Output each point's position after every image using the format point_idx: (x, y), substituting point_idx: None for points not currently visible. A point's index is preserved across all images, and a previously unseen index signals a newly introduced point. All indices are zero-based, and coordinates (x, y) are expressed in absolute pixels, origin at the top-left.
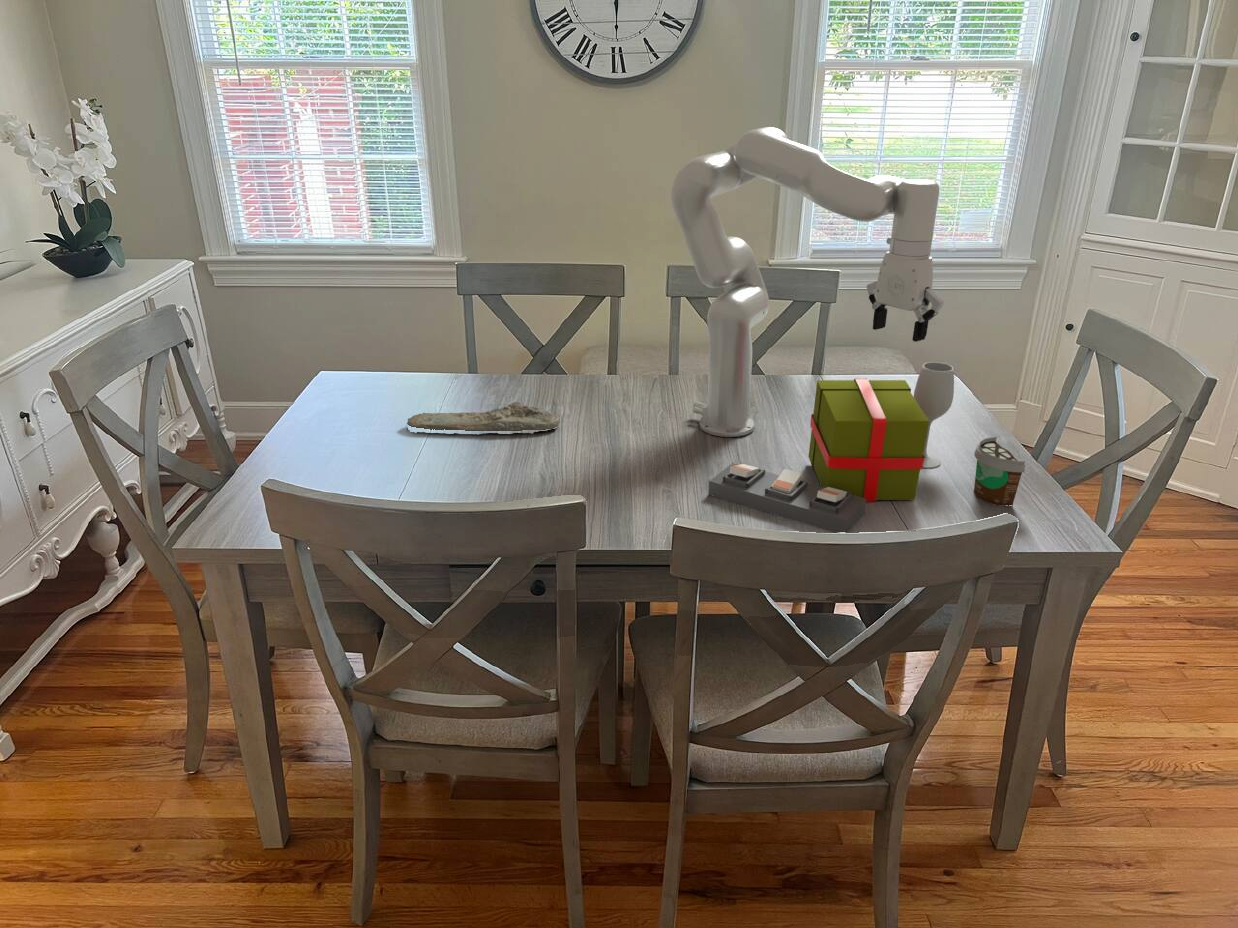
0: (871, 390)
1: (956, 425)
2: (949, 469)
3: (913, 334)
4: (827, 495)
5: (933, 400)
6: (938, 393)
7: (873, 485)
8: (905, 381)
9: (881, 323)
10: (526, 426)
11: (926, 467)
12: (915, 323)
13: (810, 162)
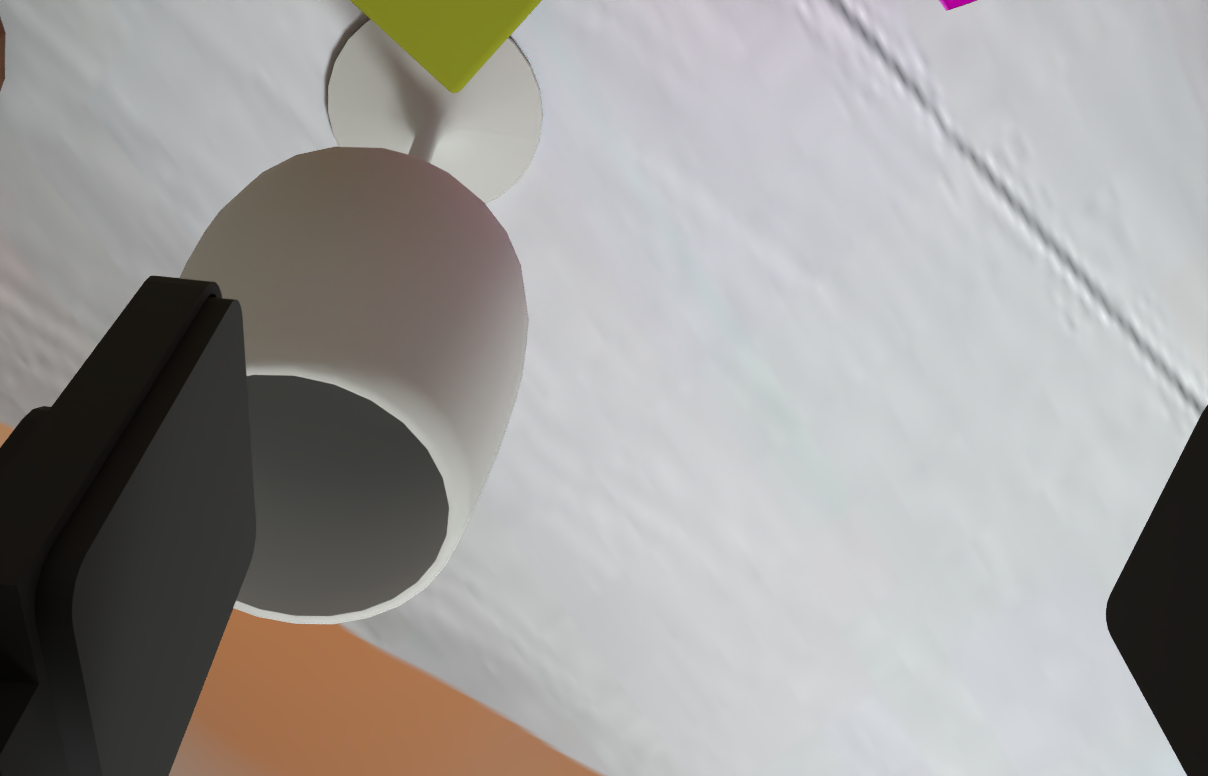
0: None
1: (582, 610)
2: (264, 122)
3: (188, 362)
4: None
5: (245, 196)
6: (204, 255)
7: None
8: (427, 61)
9: (1196, 592)
10: None
11: (356, 32)
12: (32, 538)
13: None
